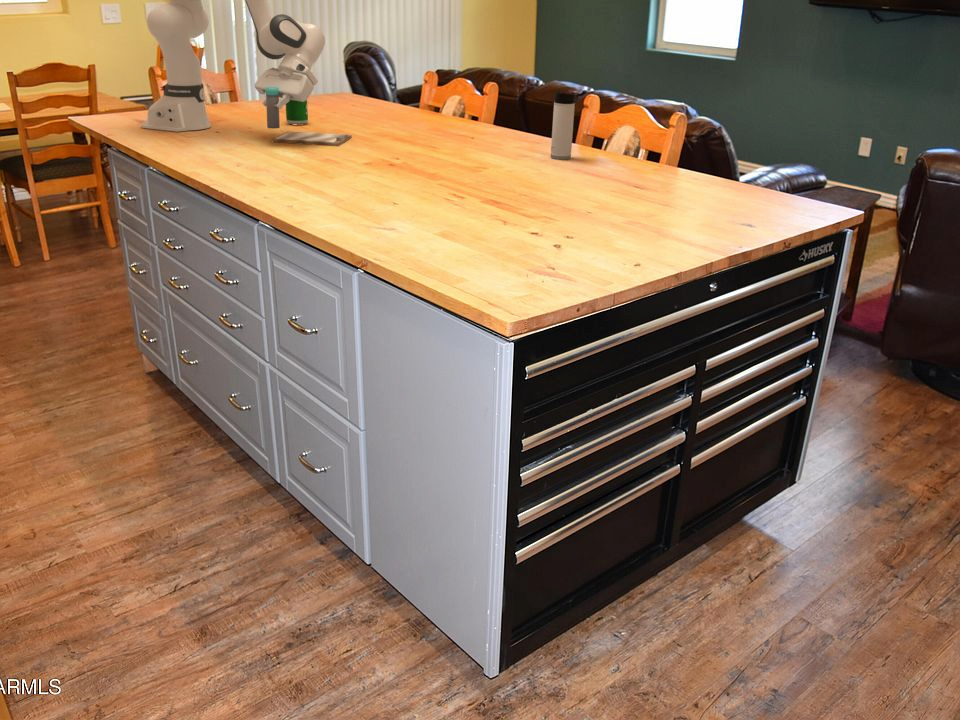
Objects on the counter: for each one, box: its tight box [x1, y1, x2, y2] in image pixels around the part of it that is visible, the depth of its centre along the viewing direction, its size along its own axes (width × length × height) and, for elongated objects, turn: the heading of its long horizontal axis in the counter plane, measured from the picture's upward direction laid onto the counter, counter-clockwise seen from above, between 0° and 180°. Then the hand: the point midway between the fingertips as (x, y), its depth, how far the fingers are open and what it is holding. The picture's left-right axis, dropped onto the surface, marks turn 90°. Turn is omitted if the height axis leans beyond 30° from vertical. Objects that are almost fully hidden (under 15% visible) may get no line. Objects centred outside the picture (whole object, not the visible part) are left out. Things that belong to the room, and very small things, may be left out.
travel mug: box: [550, 91, 576, 161], centre depth 275 cm, size 6×7×20 cm
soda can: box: [285, 99, 309, 126], centre depth 315 cm, size 8×8×12 cm
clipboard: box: [271, 130, 352, 147], centre depth 292 cm, size 22×15×2 cm
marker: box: [265, 87, 281, 130], centre depth 279 cm, size 4×4×12 cm
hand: (271, 106), depth 278 cm, fingers closed on marker, 4 cm apart
